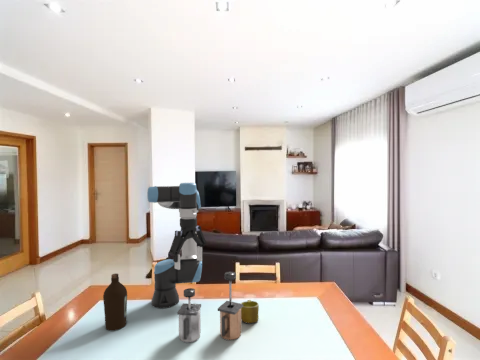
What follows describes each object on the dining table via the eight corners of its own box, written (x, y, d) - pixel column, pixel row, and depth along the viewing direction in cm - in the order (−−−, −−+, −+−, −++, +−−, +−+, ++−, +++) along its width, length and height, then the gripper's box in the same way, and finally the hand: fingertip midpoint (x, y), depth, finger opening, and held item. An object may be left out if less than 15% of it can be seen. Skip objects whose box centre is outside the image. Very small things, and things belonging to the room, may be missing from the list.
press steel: (195, 347, 122) (195, 316, 122) (174, 345, 123) (174, 315, 123) (202, 331, 134) (201, 303, 134) (183, 330, 135) (182, 303, 135)
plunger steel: (180, 331, 129) (179, 291, 129) (189, 325, 134) (189, 286, 133) (189, 336, 126) (189, 294, 125) (199, 329, 131) (198, 289, 130)
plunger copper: (221, 314, 131) (220, 274, 130) (229, 309, 135) (229, 270, 135) (231, 318, 127) (231, 277, 126) (239, 312, 132) (239, 273, 131)
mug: (260, 323, 137) (254, 301, 139) (240, 327, 139) (235, 306, 142) (265, 315, 149) (259, 295, 151) (246, 320, 151) (241, 300, 153)
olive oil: (104, 333, 133) (102, 280, 132) (103, 322, 142) (102, 272, 141) (128, 328, 137) (127, 276, 136) (126, 317, 147) (125, 269, 146)
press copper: (232, 345, 123) (232, 315, 123) (213, 340, 127) (213, 311, 127) (244, 331, 134) (244, 304, 133) (226, 327, 138) (226, 300, 137)
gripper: (172, 223, 116) (173, 274, 117) (213, 214, 136) (213, 258, 137) (160, 221, 120) (161, 271, 121) (201, 213, 141) (202, 255, 142)
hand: (188, 264), depth 129 cm, fingers open, 13 cm apart
